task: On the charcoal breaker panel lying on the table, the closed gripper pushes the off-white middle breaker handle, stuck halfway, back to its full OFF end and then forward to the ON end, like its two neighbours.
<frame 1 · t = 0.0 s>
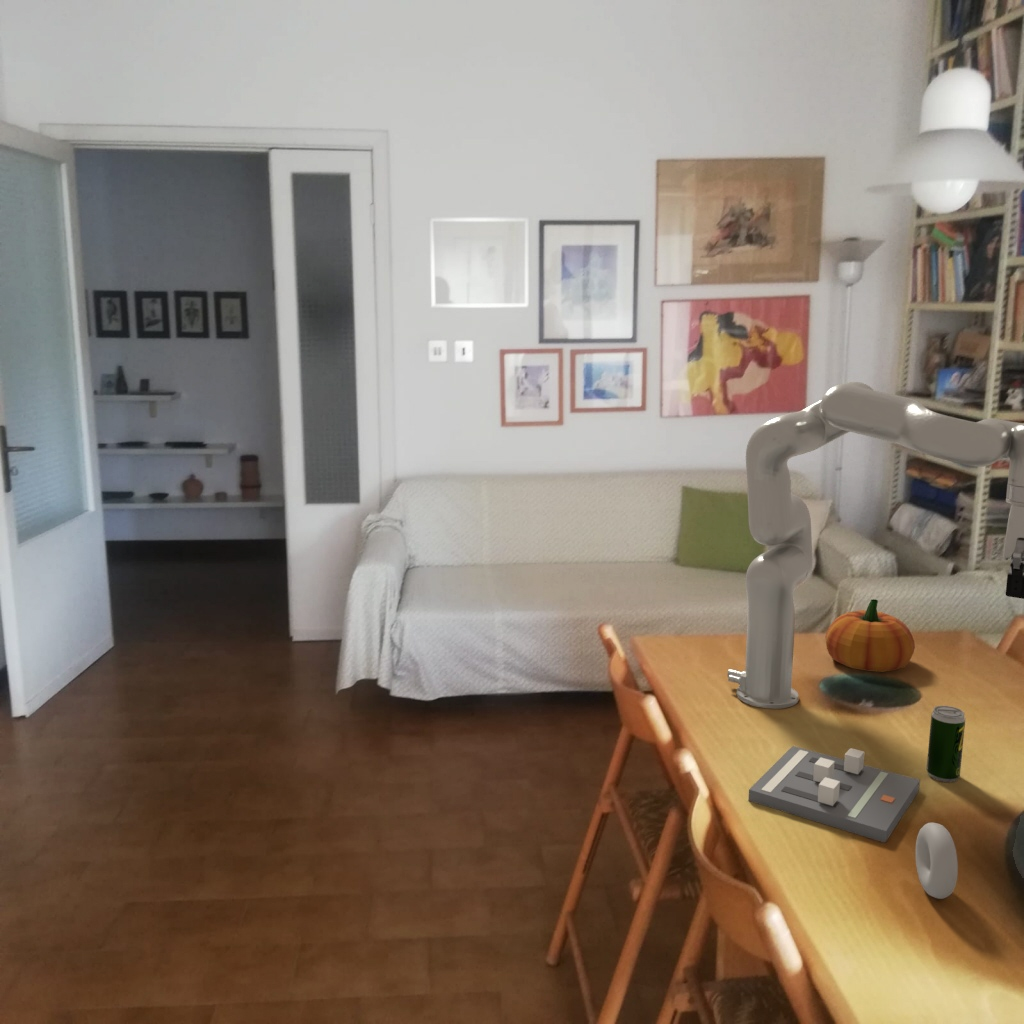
hand: (1020, 590, 166), 31 cm above the table, tool pointing down, fingers open, 9 cm apart
donut: (932, 893, 132), on the table
breaker panel: (834, 795, 159), on the table
pumpkin: (867, 663, 219), on the table
tripped handle: (824, 770, 159), point 4 cm above the table, slide at 3.0 cm
beer can: (942, 776, 165), on the table
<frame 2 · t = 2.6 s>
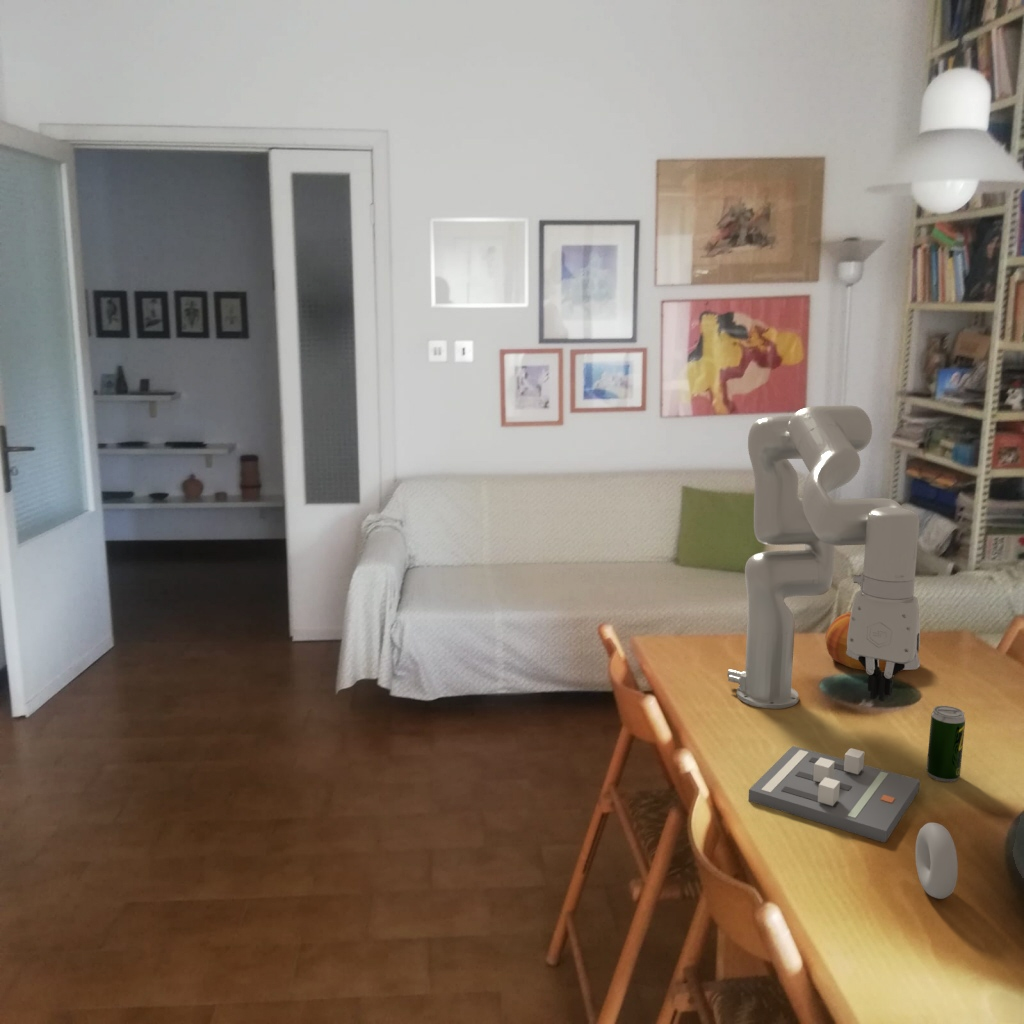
hand: (879, 697, 151), 19 cm above the table, tool pointing down, fingers closed
nothing on the table moved.
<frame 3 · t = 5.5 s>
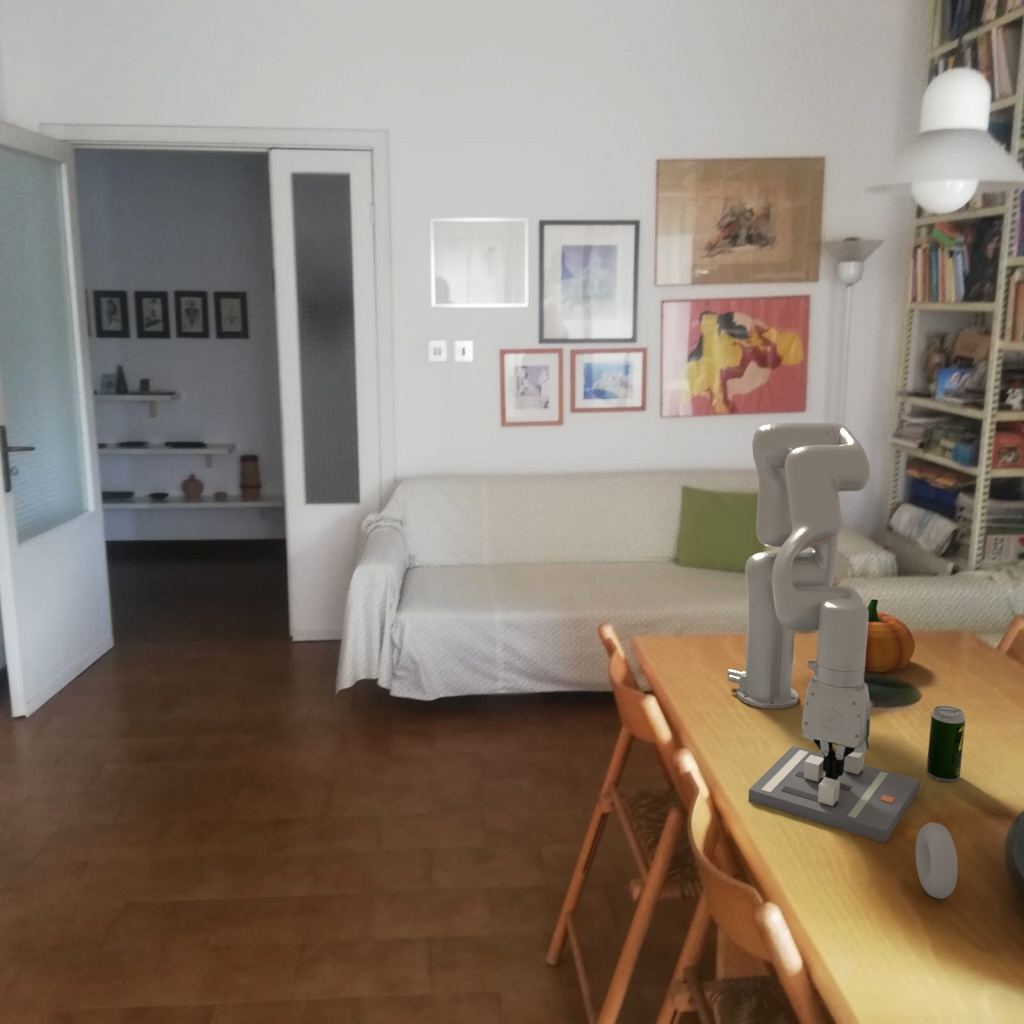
hand: (832, 776, 158), 3 cm above the table, tool pointing down, fingers closed
tripped handle: (814, 768, 160), point 4 cm above the table, slide at 1.3 cm, touching gripper
everything else where it was.
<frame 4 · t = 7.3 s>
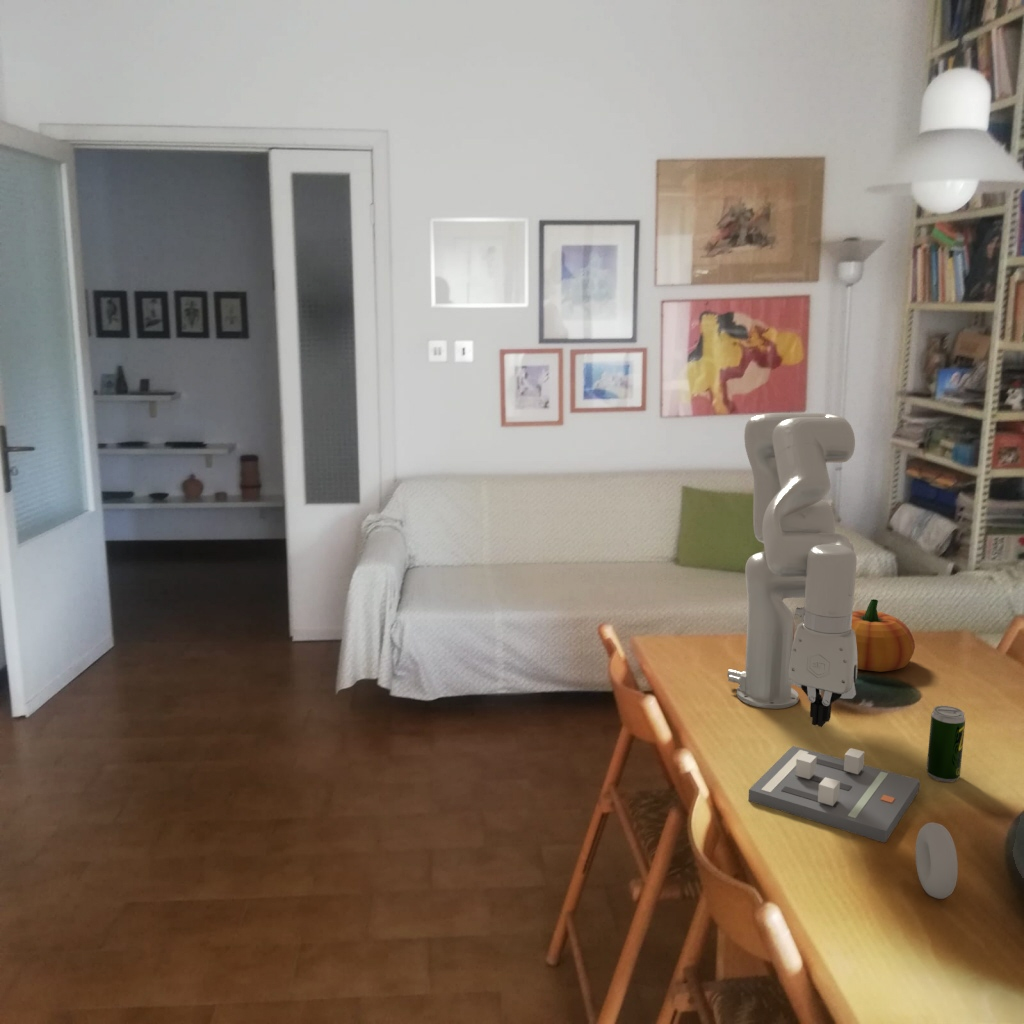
hand: (819, 722, 159), 12 cm above the table, tool pointing down, fingers closed
tripped handle: (806, 765, 161), point 4 cm above the table, slide at -0.1 cm
everything else where it was.
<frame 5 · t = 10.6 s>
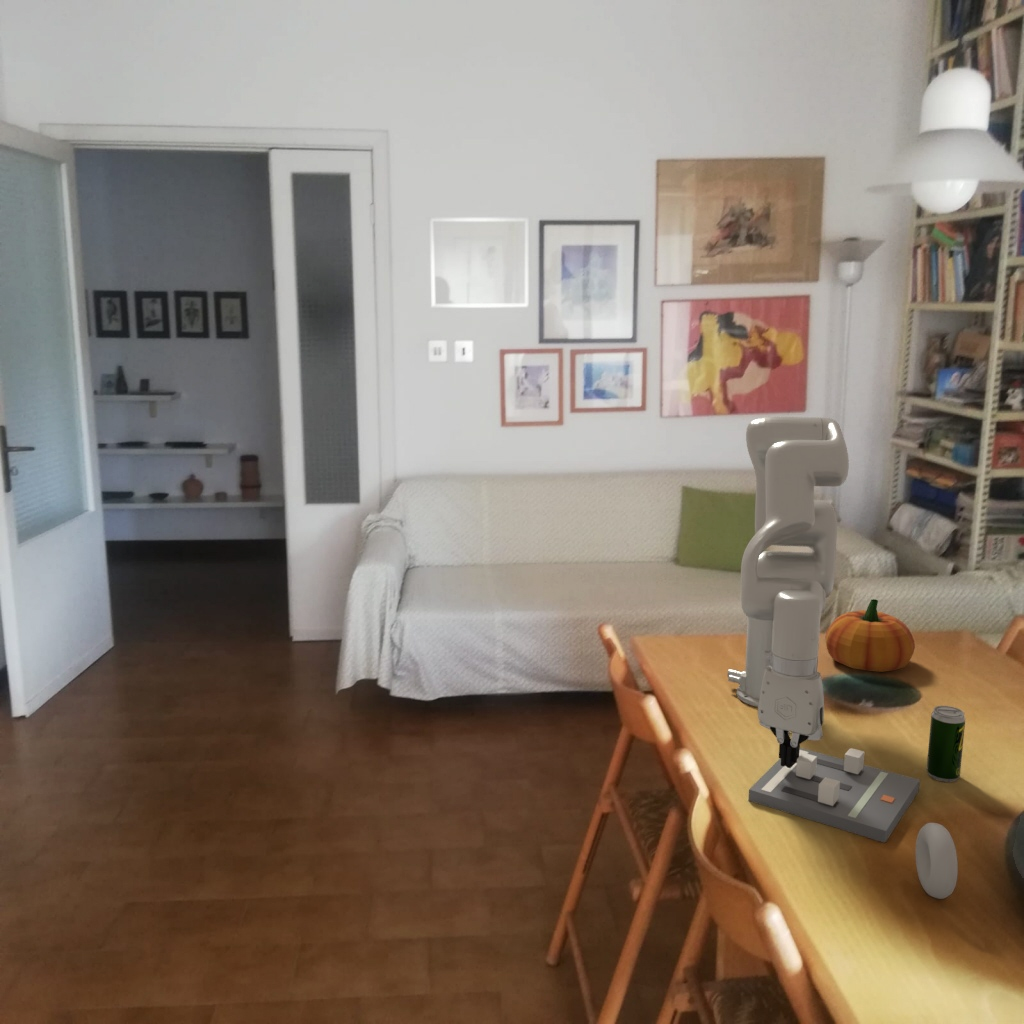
hand: (788, 763, 163), 3 cm above the table, tool pointing down, fingers closed
tripped handle: (806, 765, 161), point 4 cm above the table, slide at 0.0 cm, touching gripper
everything else where it was.
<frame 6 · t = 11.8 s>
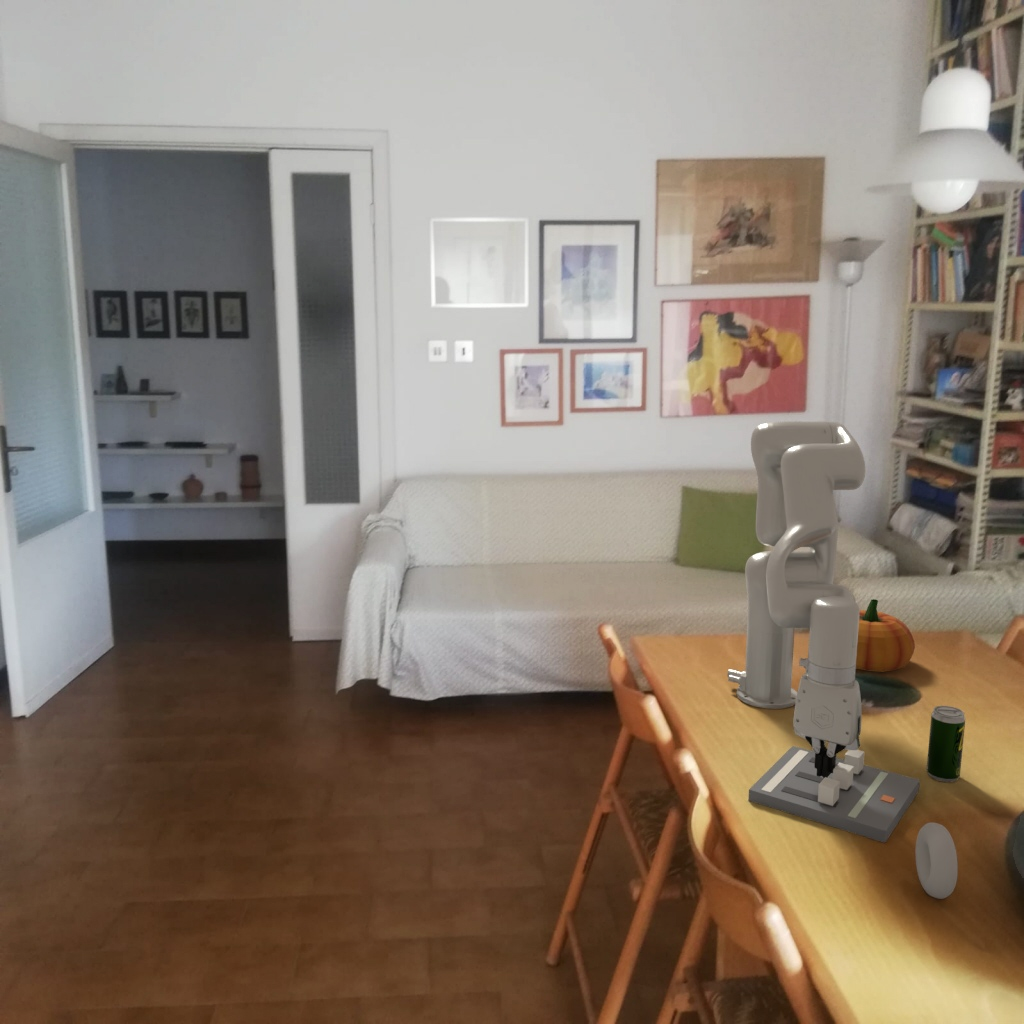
hand: (824, 774, 159), 3 cm above the table, tool pointing down, fingers closed
tripped handle: (843, 776, 157), point 4 cm above the table, slide at 6.2 cm, touching gripper
everything else where it was.
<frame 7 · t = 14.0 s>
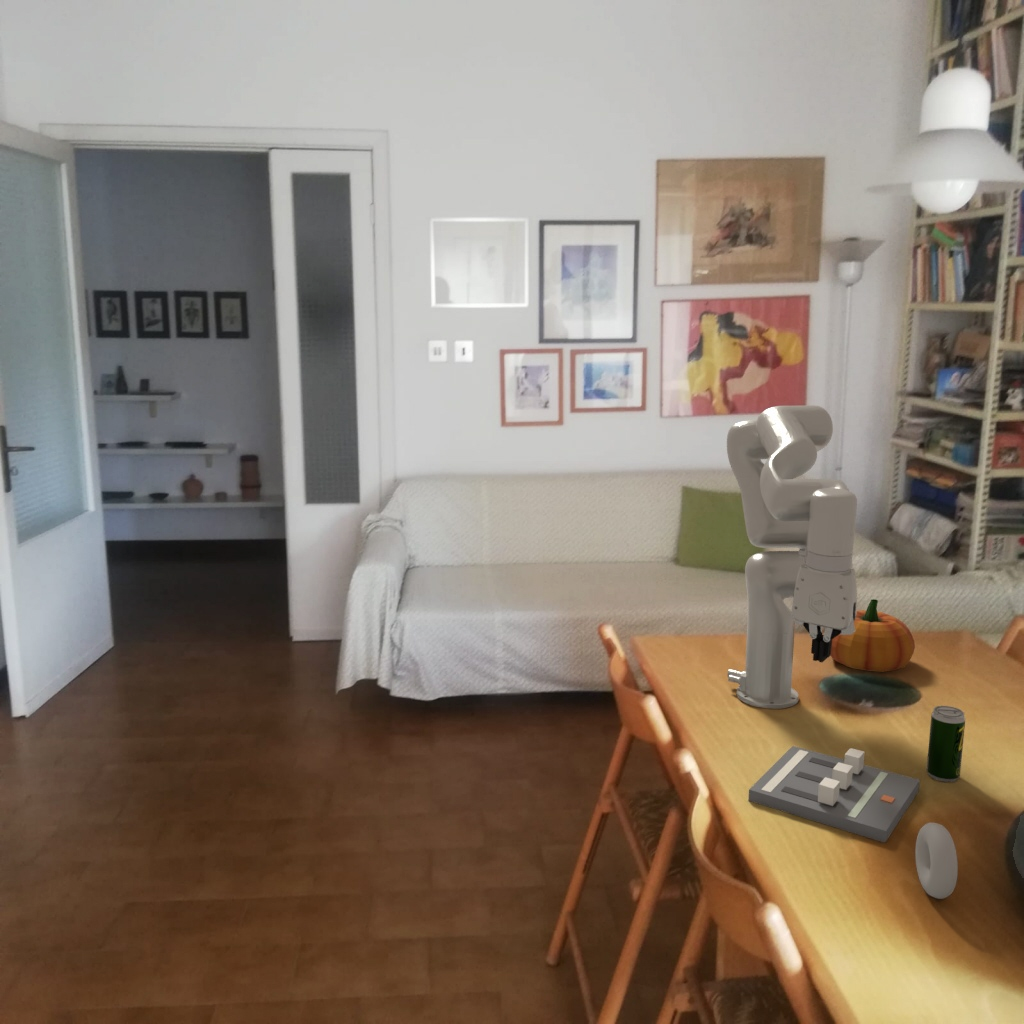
hand: (820, 658, 167), 19 cm above the table, tool pointing down, fingers closed
tripped handle: (842, 775, 157), point 4 cm above the table, slide at 6.1 cm
everything else where it was.
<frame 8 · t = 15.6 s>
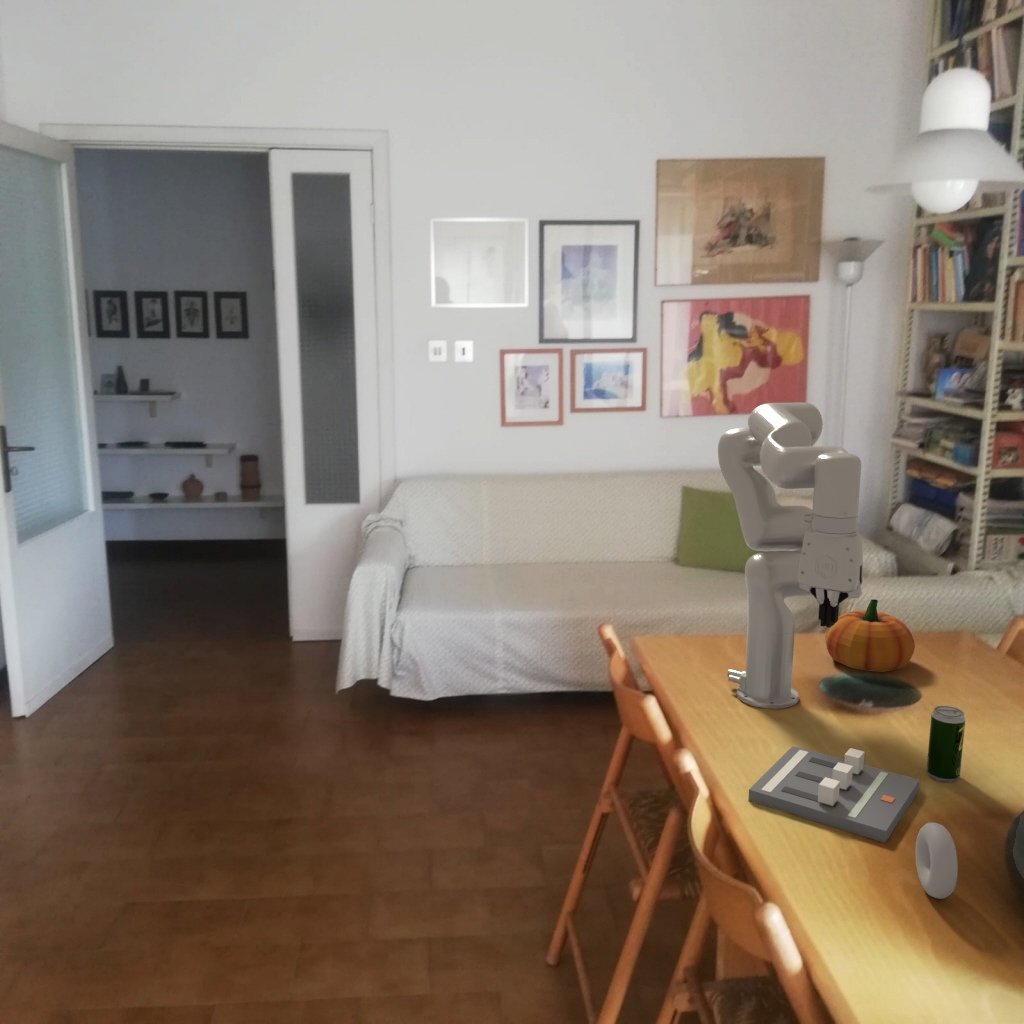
hand: (827, 624, 168), 25 cm above the table, tool pointing down, fingers closed
nothing on the table moved.
at the end: tripped handle slide at 6.1 cm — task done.
